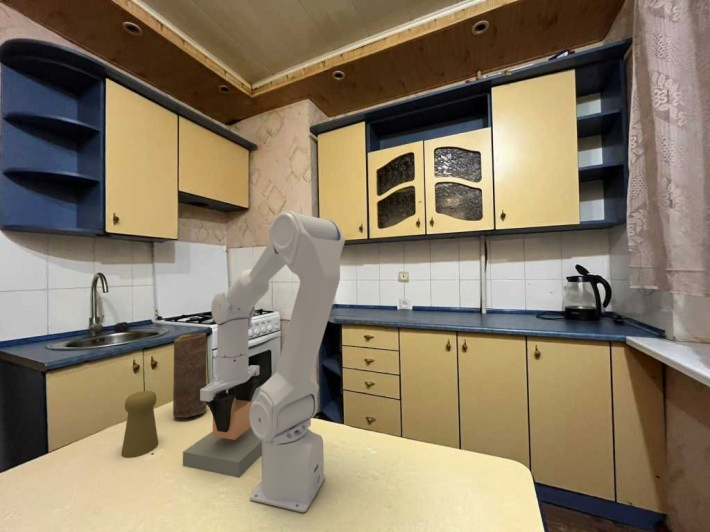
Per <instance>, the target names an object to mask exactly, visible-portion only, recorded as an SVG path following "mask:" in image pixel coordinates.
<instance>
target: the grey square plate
mask: <svg viewBox="0 0 710 532" xmlns="http://www.w3.org/2000/svg"><path fill="white" fill-rule="evenodd" d="M260 457H262V440H260V439H259V438H258V437H257V436H256V435H255V434H254V432H253V430H252V428H251V427H250V428H249V429H248V430H247V431H245V432H244V433H243V434H242V435H240V436H239V437H238V438H237V439H235V440H232V439H226V438H220V437H214V436H213V430H212V431H210V432H209V433H208V434H206V435H205V436H204V437H202V438H201V439H200V440H197V442H195V443H194V444H192V445H190V446H189V447H187V448H186V449H185V450H184V451H182V467H186V468H190V469H195V470H200V471H205V472H210V473H214V474H220V475H224V476H228V477H233V478H239V479H240V477H241V476H242V475H243V474H244V473H245V472H246V471H247V470H248V469H249V468H250V467H251V466H252V465H253V464H254V463H255V462H256V461H257V460H258V459H259V458H260Z"/></svg>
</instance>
